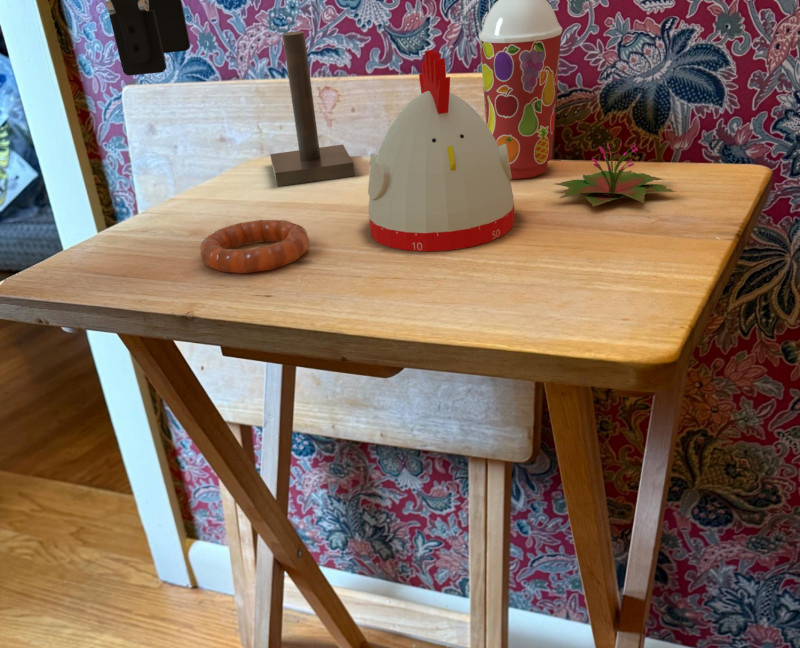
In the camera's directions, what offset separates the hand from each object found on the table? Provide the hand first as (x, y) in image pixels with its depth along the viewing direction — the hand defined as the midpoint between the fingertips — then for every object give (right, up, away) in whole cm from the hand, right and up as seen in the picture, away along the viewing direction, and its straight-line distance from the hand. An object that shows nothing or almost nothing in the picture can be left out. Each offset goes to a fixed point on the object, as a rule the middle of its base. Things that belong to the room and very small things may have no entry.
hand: (159, 61), depth 71 cm
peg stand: (+9, +6, +35) cm, 36 cm away
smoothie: (+32, +2, +28) cm, 43 cm away
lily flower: (+40, -4, +19) cm, 45 cm away
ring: (+6, -11, +12) cm, 17 cm away
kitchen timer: (+23, -8, +15) cm, 29 cm away
